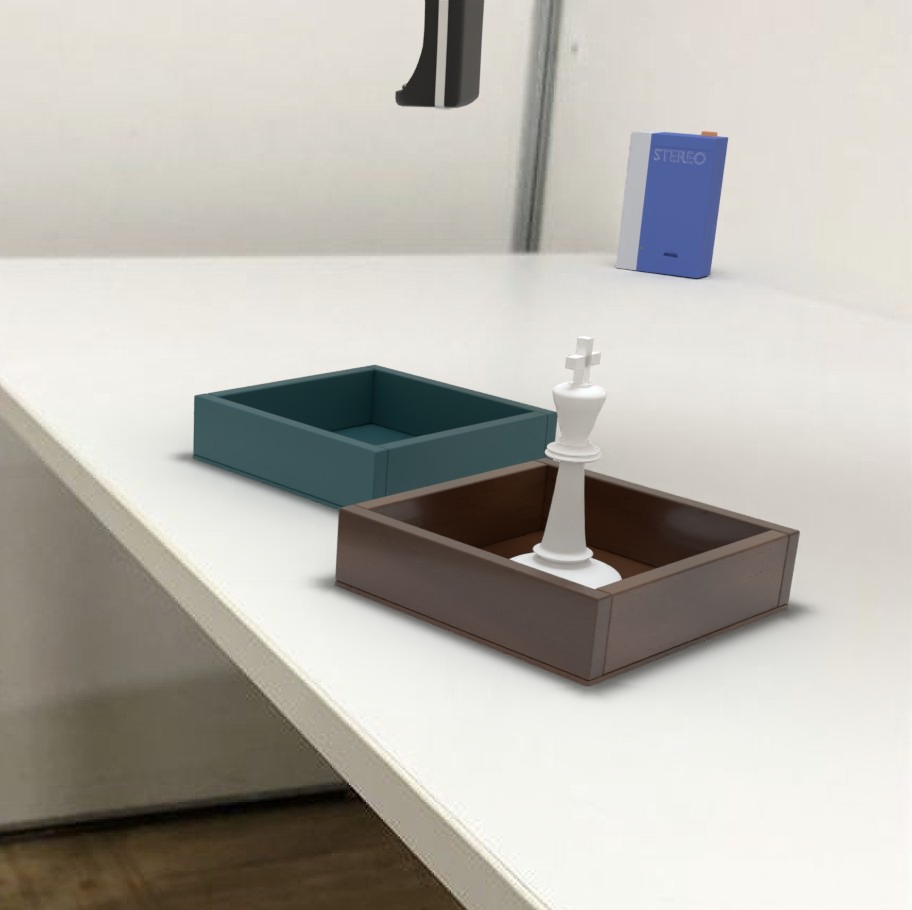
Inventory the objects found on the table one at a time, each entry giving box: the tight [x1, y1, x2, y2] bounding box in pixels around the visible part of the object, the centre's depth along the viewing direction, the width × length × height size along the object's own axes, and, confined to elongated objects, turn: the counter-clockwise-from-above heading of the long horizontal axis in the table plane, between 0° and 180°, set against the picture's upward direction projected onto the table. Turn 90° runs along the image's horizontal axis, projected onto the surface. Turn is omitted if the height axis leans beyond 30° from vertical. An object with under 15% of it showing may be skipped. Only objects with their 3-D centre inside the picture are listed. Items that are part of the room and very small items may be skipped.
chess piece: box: [510, 335, 622, 589], centre depth 62 cm, size 5×5×10 cm
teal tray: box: [192, 364, 558, 511], centre depth 79 cm, size 13×13×4 cm
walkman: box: [615, 129, 729, 279], centre depth 141 cm, size 8×3×12 cm, turn 53°
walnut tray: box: [334, 458, 801, 687], centre depth 63 cm, size 13×13×4 cm
